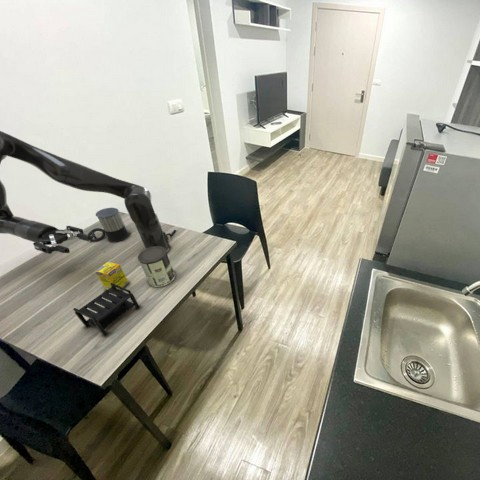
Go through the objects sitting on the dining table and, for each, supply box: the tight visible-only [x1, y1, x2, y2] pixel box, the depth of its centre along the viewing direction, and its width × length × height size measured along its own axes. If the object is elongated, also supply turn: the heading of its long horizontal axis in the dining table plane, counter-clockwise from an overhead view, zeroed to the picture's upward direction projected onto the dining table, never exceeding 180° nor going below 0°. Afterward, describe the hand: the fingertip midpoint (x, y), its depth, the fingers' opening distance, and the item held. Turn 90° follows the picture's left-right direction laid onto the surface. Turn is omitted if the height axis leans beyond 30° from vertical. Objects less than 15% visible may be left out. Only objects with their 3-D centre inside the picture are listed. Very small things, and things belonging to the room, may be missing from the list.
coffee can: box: [136, 246, 176, 288], centre depth 110 cm, size 10×10×14 cm
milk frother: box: [87, 207, 130, 243], centre depth 129 cm, size 14×16×15 cm
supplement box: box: [94, 261, 130, 291], centre depth 105 cm, size 6×6×11 cm
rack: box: [72, 283, 141, 337], centre depth 94 cm, size 14×10×10 cm
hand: (79, 244), depth 99 cm, fingers open, 8 cm apart
